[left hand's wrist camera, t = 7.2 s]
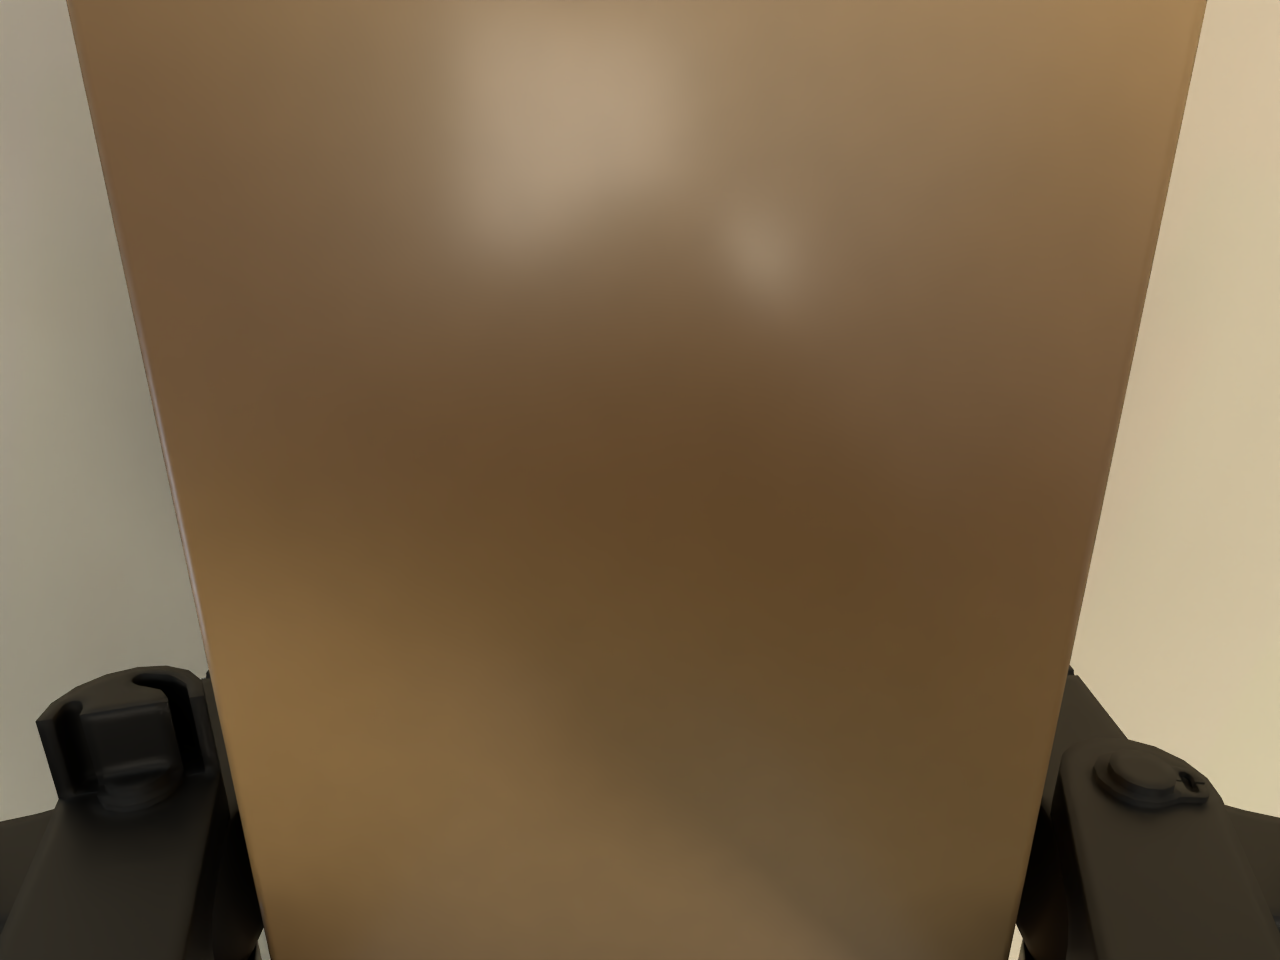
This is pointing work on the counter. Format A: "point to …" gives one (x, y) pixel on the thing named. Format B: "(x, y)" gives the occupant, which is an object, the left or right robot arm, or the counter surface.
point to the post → (637, 445)
